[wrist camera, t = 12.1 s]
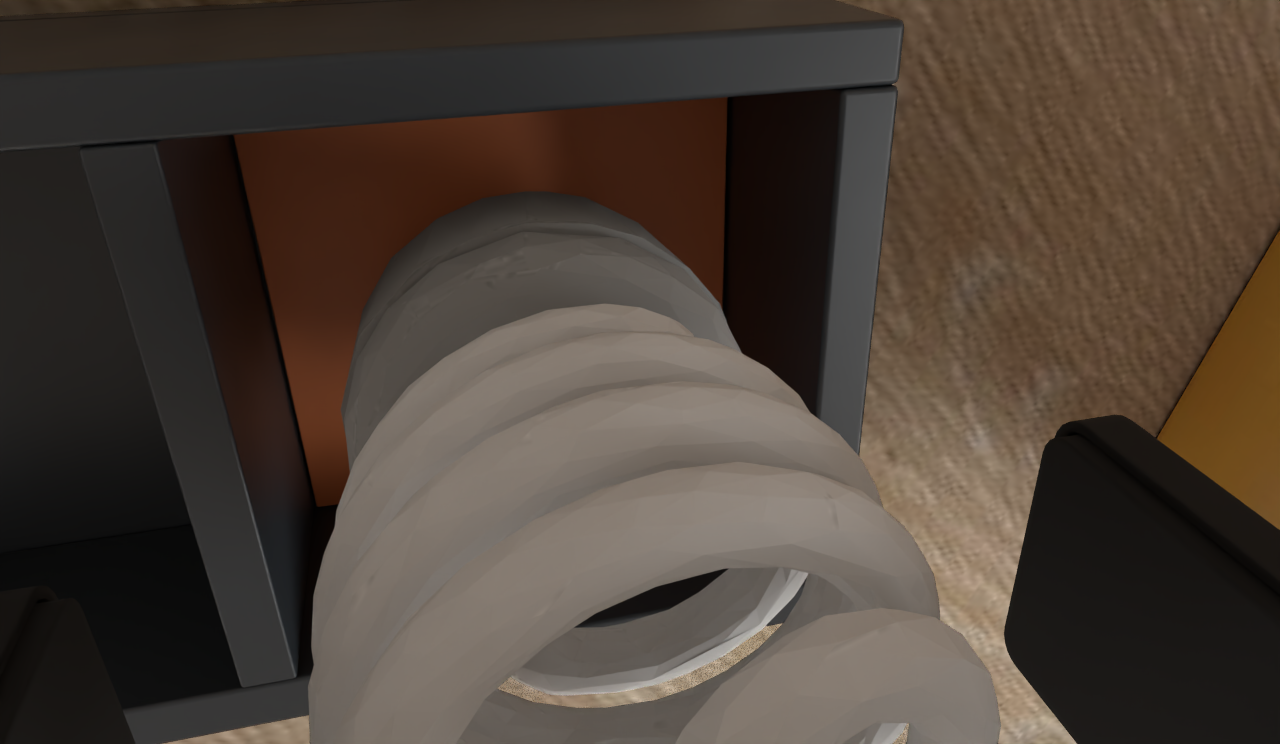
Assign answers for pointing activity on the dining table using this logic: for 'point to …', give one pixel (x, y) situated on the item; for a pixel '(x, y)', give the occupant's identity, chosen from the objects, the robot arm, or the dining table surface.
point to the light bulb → (605, 514)
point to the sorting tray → (366, 269)
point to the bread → (1238, 399)
